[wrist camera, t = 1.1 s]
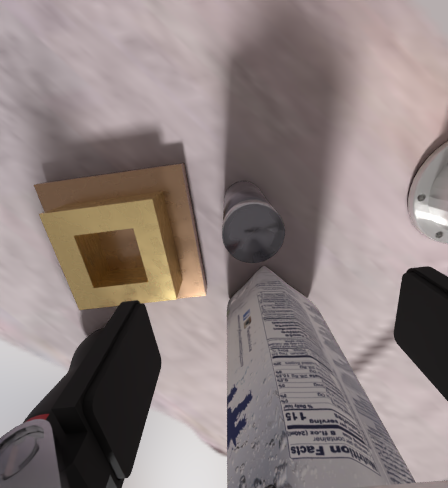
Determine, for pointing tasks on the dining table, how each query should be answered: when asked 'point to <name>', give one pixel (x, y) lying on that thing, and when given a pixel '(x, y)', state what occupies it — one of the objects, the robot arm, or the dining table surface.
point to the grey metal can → (250, 224)
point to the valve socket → (125, 236)
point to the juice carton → (297, 399)
